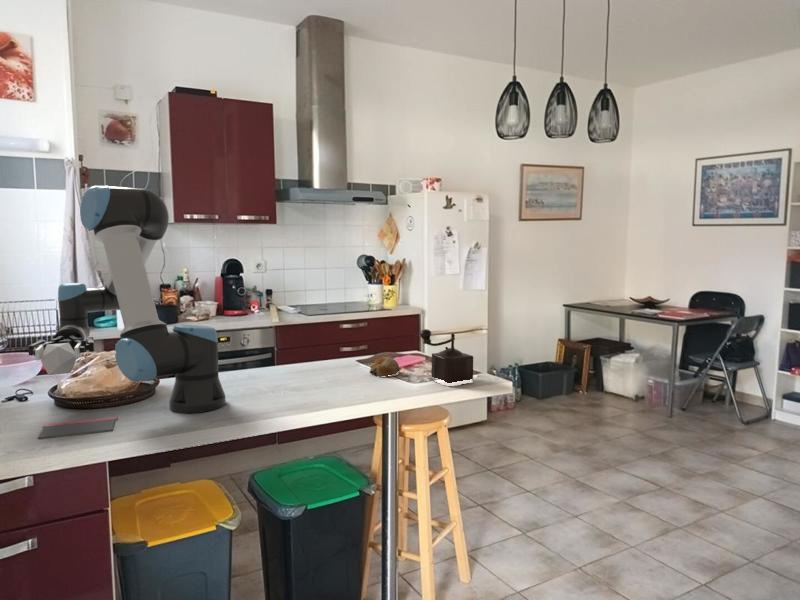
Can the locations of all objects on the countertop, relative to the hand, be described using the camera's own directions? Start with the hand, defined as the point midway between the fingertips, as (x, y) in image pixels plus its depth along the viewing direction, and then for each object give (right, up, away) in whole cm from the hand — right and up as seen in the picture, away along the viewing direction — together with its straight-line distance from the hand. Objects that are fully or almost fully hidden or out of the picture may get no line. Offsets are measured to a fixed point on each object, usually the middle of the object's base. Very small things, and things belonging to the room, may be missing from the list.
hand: (56, 353), depth 149 cm
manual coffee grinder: (+104, -14, +44) cm, 113 cm away
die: (-2, -6, +5) cm, 8 cm away
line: (+6, -18, +1) cm, 19 cm away
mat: (+8, -19, -4) cm, 21 cm away
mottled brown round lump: (+83, -13, +55) cm, 101 cm away
